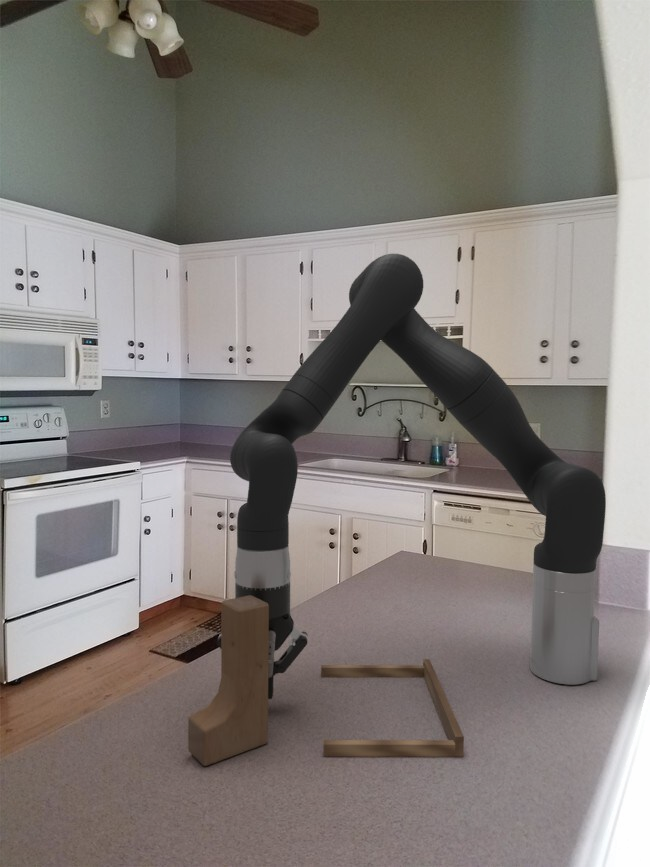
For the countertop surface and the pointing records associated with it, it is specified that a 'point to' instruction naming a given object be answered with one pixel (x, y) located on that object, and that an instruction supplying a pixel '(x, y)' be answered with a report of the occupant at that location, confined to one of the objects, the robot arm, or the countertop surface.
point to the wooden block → (236, 686)
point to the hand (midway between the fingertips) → (262, 700)
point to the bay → (400, 747)
